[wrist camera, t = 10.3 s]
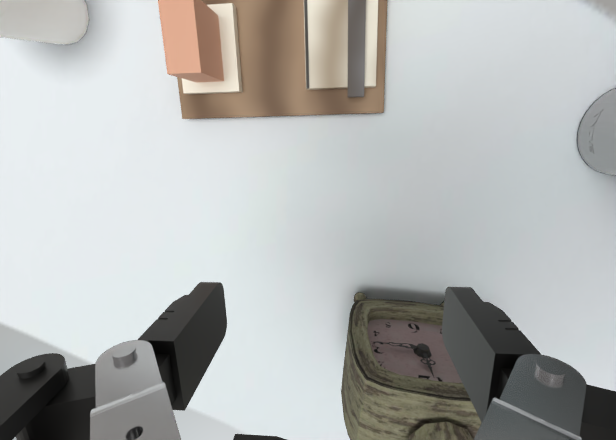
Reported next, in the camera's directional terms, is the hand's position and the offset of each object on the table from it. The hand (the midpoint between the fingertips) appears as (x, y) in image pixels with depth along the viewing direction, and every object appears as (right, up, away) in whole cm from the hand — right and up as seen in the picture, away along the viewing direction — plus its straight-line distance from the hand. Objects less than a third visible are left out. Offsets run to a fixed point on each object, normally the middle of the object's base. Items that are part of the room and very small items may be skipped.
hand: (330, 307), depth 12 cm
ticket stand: (-4, +21, +24) cm, 32 cm away
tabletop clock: (+11, -10, +31) cm, 34 cm away
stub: (-11, +21, +23) cm, 33 cm away
